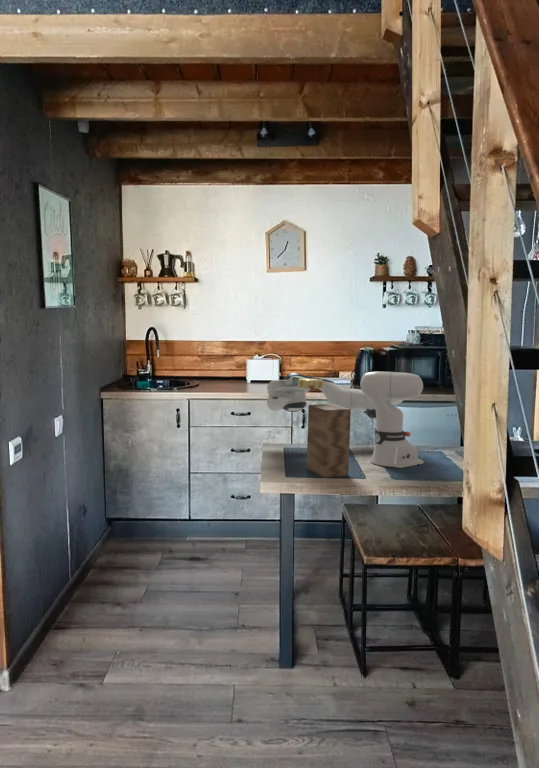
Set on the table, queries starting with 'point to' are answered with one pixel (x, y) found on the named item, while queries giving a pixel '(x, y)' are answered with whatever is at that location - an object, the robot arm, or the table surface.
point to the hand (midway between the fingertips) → (297, 378)
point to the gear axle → (308, 382)
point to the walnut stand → (328, 440)
